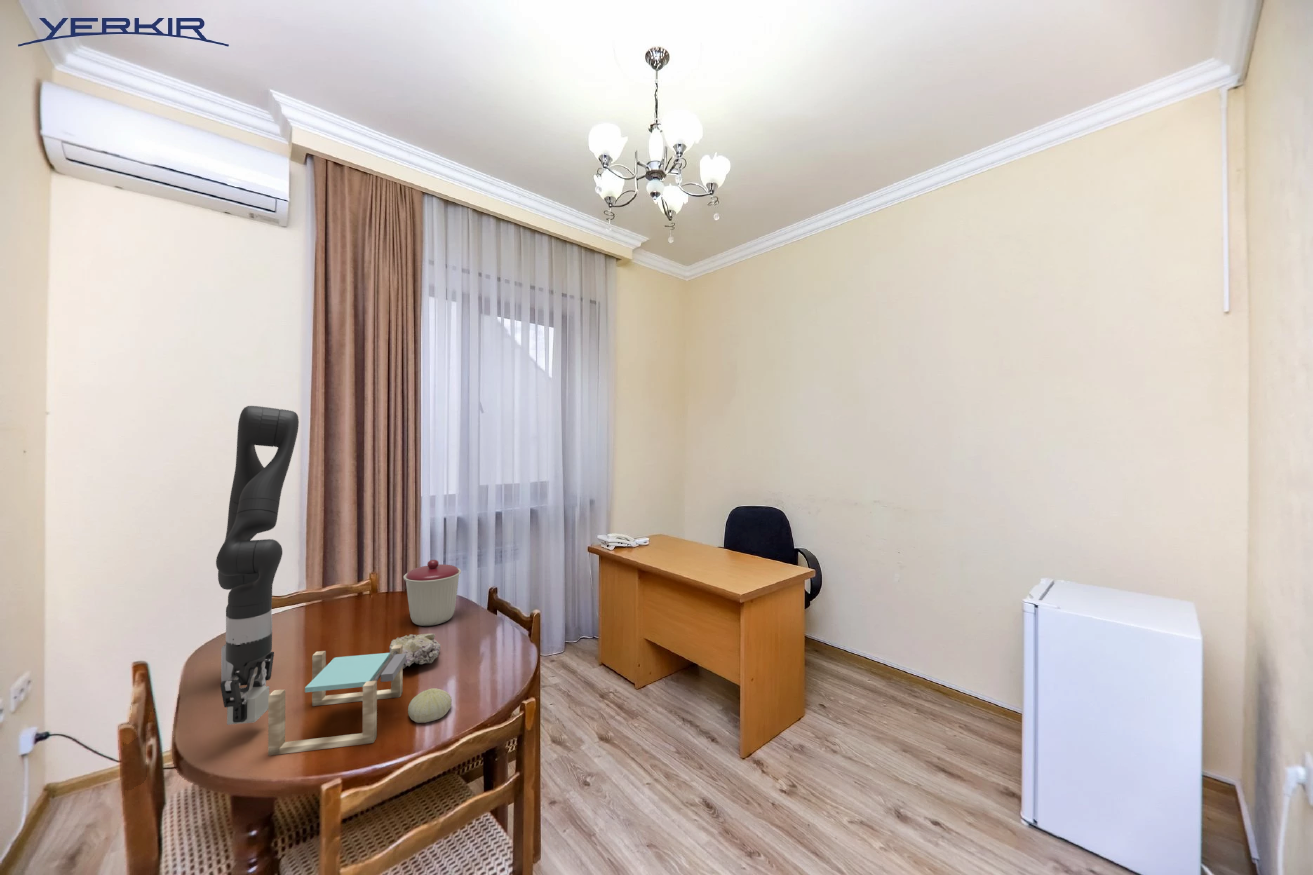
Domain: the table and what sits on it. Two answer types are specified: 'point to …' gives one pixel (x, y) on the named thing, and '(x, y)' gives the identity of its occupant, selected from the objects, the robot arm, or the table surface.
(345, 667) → the trapdoor
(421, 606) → the canister
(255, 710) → the grey cube
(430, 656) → the geode
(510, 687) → the table surface
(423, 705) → the sea urchin shell
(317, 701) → the frame
